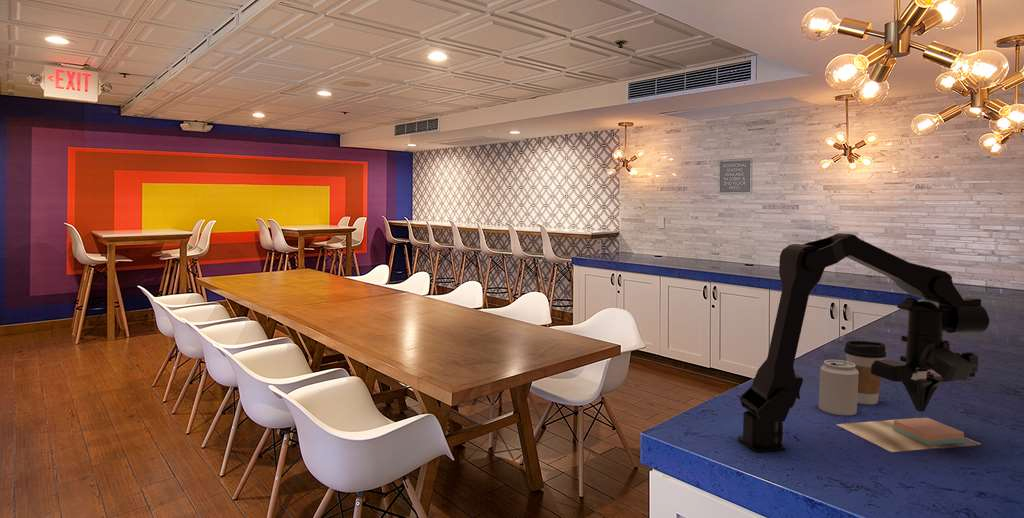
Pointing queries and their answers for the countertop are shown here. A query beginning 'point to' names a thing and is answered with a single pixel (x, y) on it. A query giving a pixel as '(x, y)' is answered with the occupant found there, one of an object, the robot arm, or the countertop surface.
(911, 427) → the tile
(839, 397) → the can
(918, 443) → the board
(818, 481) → the countertop surface
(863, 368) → the coffee cup
